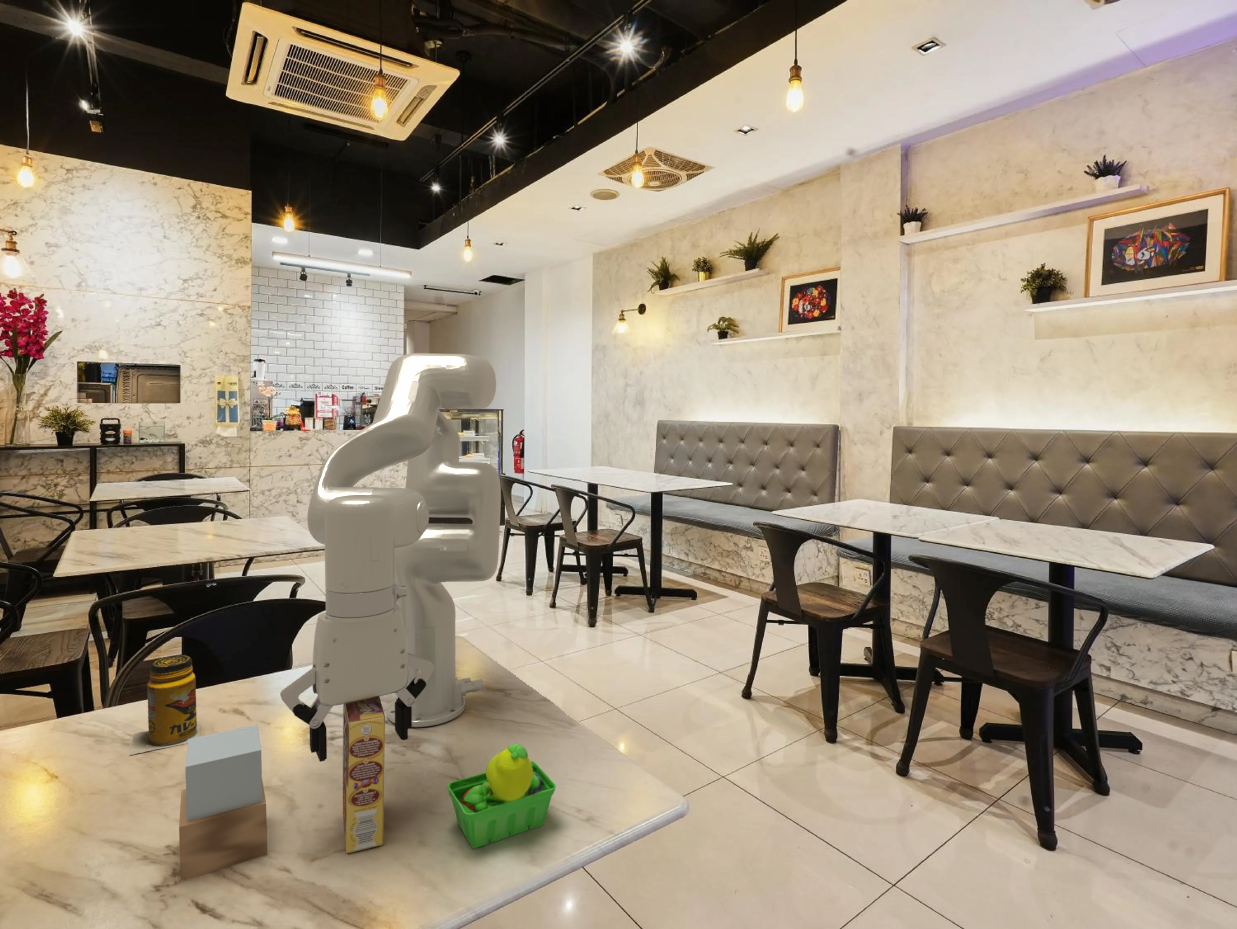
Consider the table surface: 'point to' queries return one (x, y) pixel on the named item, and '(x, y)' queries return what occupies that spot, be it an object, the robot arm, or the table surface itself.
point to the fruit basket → (502, 798)
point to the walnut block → (221, 838)
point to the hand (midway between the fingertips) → (362, 745)
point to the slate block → (223, 772)
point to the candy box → (363, 773)
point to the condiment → (169, 706)
